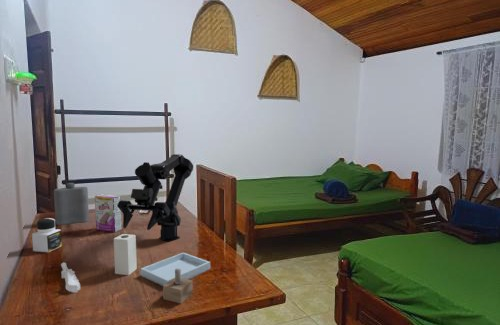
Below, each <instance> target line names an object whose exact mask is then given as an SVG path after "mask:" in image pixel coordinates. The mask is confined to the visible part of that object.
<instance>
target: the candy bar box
mask: <svg viewBox="0 0 500 325" xmlns="http://www.w3.org/2000/svg"><path fill="white" fill-rule="evenodd" d="M119 201H121V195H116V194H115V195H114V194H113V195H112V194H106V193H104V194H96V195H95V196H94V204H95V205H94V207H95V208H94V209H95V210H94V211H95V223H96V224H95V228H96V230H97V231H103V232H104V231H105V232H109V233H110V232H111V233H117V232H119V231H121V230H123V229H122V228H123V221H122V211H121V210H120V209H119V208H118V207H117V205H118V203H119Z"/></svg>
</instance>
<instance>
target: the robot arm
mask: <svg viewBox="0 0 500 325" xmlns="http://www.w3.org/2000/svg"><path fill="white" fill-rule="evenodd" d="M172 170H173V173H174V177H173V180H172V184H171V186H170V188H169V192H168V195H167V198H166V201H165V202H164V201H161V202H160V201H158V194H159V191H160V190H162V189H163V185H162V182H161V181H160V180H166V179H168V177H169V176H170V172H171V171H172ZM193 170H194V165H193V163H192V161H191V160H190V159H188V158H186V157H184V155H183V154H171V156H169V157H168V158H167V159H165V160H163V161H162V162H160V163H153V164H150V162H143V163H142V164H141V165H139V166H137V167H136V168H135V169H134V174H135V175H136V178H138V180H139V182H140V183H141V185H143V188H131V195H130V198H131V199H134V202H135V203H137V204H133V203H132V202H131V201H130V200H125V199H123V200H121V201H119V203H118V205H117V207H118V208H119V209H120V210H121V214H123V219H122V228H123V229H126V228H127V227H128V225H129V223H130V221H131V220H132V218H133V216H134V215H133V214H134V212H135V211H145V212H152V213H151V216H150V219H149V221H148V224H147V227H146V229H147V231H149V230H151V229H152V228H153V227H154V226H155V225H156V224H157V226H160V236H159V237H158V239H160V240H162V241H164V242H169V243H170V242H172V241H174V240H178V239H180V235H179V236H178V226H181V221H182V220H181V219H182V218H181V216H180V215H179V214H178V213H179V210H178V208H177V204H178V202H179V199H180V196H181V194H182V190H183V188H184V184H185V180H186V179H188V178H189V177H190V176H191V174H192V172H193Z"/></svg>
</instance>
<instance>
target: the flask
mask: <svg viewBox="0 0 500 325" xmlns="http://www.w3.org/2000/svg"><path fill="white" fill-rule="evenodd" d="M88 190H89V188H88V187H87V186H76V184H75V183H74V182H68V183H66V187H62V188H60V187H59V188H55V189H54V190H53V198H54V199H53V200H54V202H53V204H54V215H55V216H54V220H55V226H64V225H72V224H79V223H87V222H89V221H90V211H89V209H90V208H89V192H88Z"/></svg>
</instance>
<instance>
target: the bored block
mask: <svg viewBox="0 0 500 325" xmlns="http://www.w3.org/2000/svg"><path fill="white" fill-rule="evenodd" d="M136 238H137V237H136V235H135V234H126V233H122V234H119V235H118V236H115V237H114V238H113V250H114V251H113V252H114V253H113V256H114V257H113V258H114V274H115V275H125V276H130V275H131V274H132V273H133V272H135V271H136V270H137V269H138V268H137V267H138V266H137V265H138V263H137V262H138V261H137V240H136Z"/></svg>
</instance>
